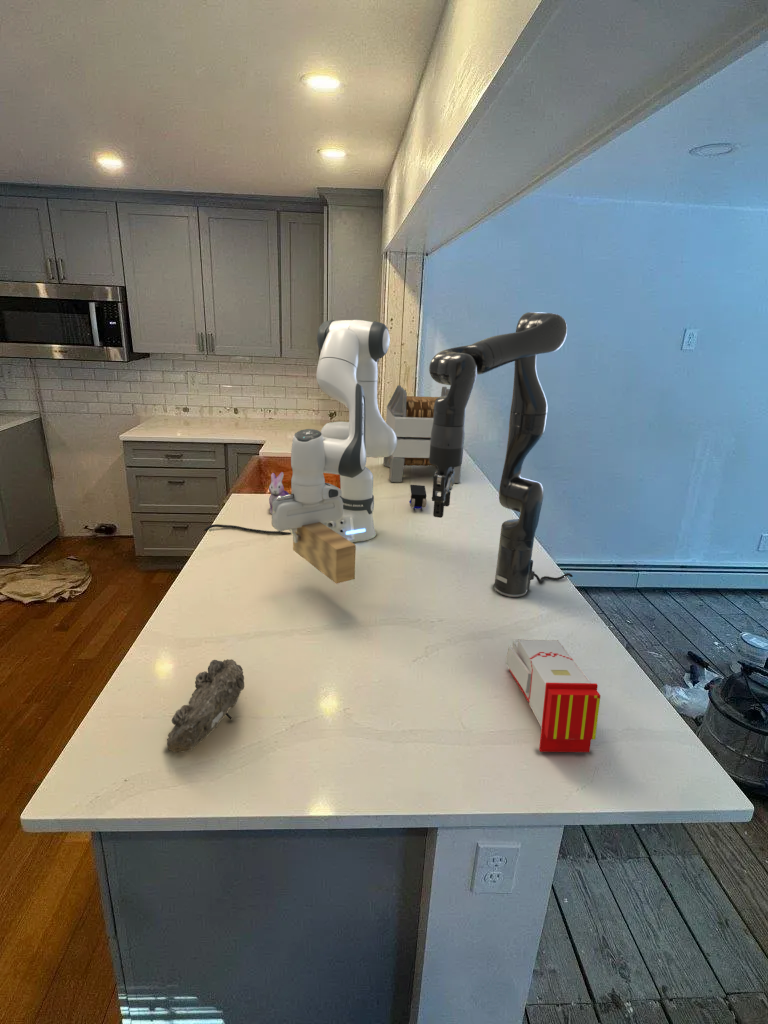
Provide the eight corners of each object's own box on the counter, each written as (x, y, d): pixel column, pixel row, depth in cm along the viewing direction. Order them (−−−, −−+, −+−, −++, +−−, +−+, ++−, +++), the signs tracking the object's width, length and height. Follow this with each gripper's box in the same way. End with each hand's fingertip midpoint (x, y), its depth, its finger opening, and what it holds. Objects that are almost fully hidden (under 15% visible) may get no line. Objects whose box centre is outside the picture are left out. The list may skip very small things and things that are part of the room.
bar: (293, 550, 158) (292, 518, 155) (310, 546, 161) (310, 515, 158) (336, 583, 140) (336, 549, 137) (354, 578, 143) (355, 545, 140)
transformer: (382, 463, 289) (386, 382, 275) (445, 464, 293) (451, 384, 279) (390, 482, 257) (394, 392, 243) (460, 483, 261) (468, 394, 247)
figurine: (272, 516, 210) (271, 477, 205) (264, 508, 219) (263, 470, 213) (296, 513, 214) (296, 475, 209) (287, 505, 223) (287, 468, 218)
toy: (554, 622, 128) (610, 691, 98) (548, 677, 130) (601, 759, 101) (501, 621, 127) (541, 690, 98) (496, 676, 130) (534, 758, 101)
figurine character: (427, 516, 221) (424, 500, 235) (428, 499, 218) (425, 483, 231) (409, 516, 221) (407, 499, 235) (411, 498, 218) (409, 482, 231)
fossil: (192, 660, 117) (244, 628, 112) (224, 691, 120) (276, 661, 115) (142, 746, 98) (202, 712, 93) (182, 779, 101) (242, 748, 96)
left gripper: (277, 500, 143) (278, 551, 147) (346, 489, 154) (345, 536, 159) (266, 493, 148) (268, 542, 152) (335, 483, 159) (334, 529, 163)
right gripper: (458, 452, 120) (452, 523, 126) (468, 439, 133) (461, 504, 139) (424, 448, 122) (419, 518, 128) (436, 435, 135) (431, 500, 141)
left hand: (308, 539), depth 156 cm, fingers closed on bar, 5 cm apart
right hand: (441, 511), depth 133 cm, fingers open, 8 cm apart
